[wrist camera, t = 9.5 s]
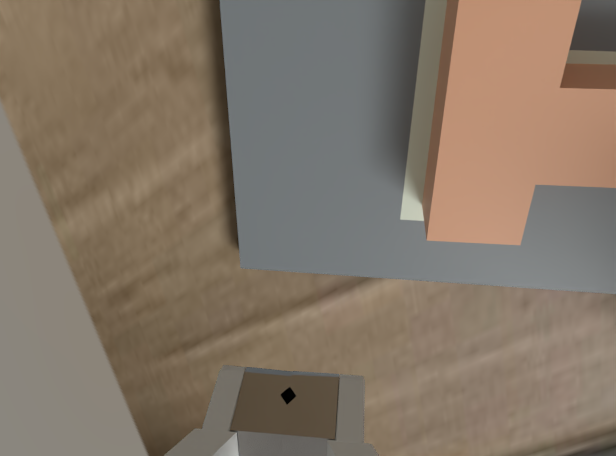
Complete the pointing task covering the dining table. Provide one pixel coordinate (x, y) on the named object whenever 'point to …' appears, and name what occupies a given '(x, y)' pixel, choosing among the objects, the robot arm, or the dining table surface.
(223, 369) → the robot arm
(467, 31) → the t block
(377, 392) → the dining table surface
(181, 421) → the dining table surface
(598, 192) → the board
